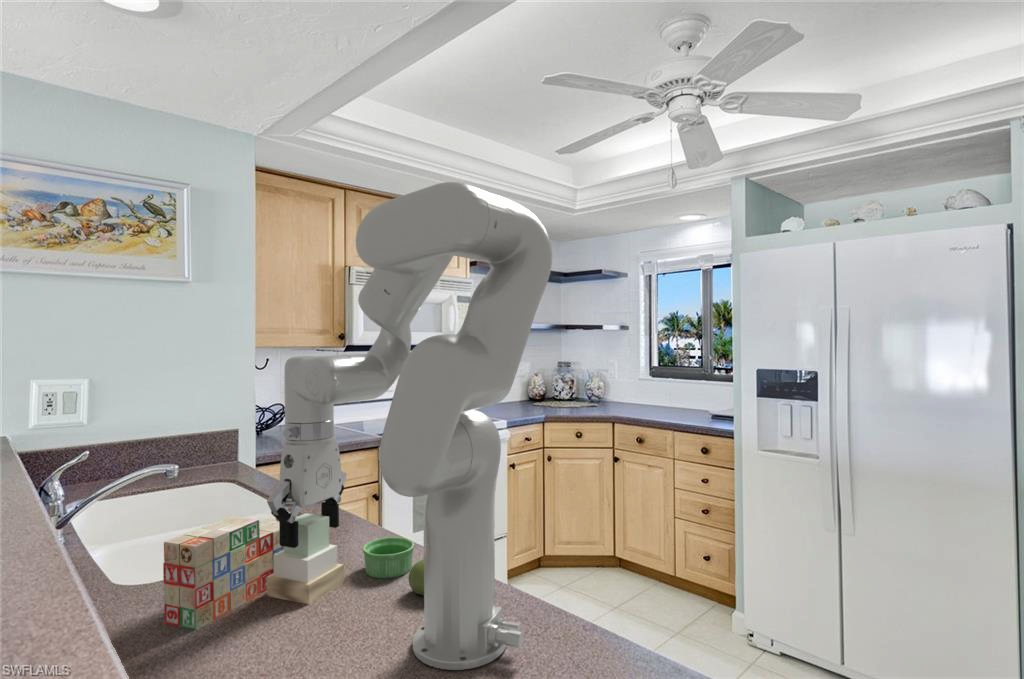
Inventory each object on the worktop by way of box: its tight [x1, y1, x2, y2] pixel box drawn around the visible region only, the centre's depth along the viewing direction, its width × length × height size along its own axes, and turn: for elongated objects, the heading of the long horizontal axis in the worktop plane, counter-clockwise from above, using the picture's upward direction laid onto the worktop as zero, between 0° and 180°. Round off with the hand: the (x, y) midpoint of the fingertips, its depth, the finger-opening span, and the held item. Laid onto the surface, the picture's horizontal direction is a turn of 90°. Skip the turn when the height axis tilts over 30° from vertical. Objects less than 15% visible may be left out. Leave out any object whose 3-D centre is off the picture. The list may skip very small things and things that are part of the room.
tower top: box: [273, 543, 338, 583], centre depth 93 cm, size 7×7×4 cm
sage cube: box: [284, 512, 330, 557], centre depth 93 cm, size 5×5×5 cm
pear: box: [408, 559, 424, 596], centre depth 90 cm, size 6×5×10 cm
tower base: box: [266, 562, 345, 605], centre depth 93 cm, size 8×8×4 cm
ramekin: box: [362, 536, 415, 579], centre depth 101 cm, size 9×9×4 cm
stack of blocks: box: [162, 515, 284, 631], centre depth 91 cm, size 21×6×12 cm, turn 160°
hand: (310, 535), depth 92 cm, fingers open, 9 cm apart
